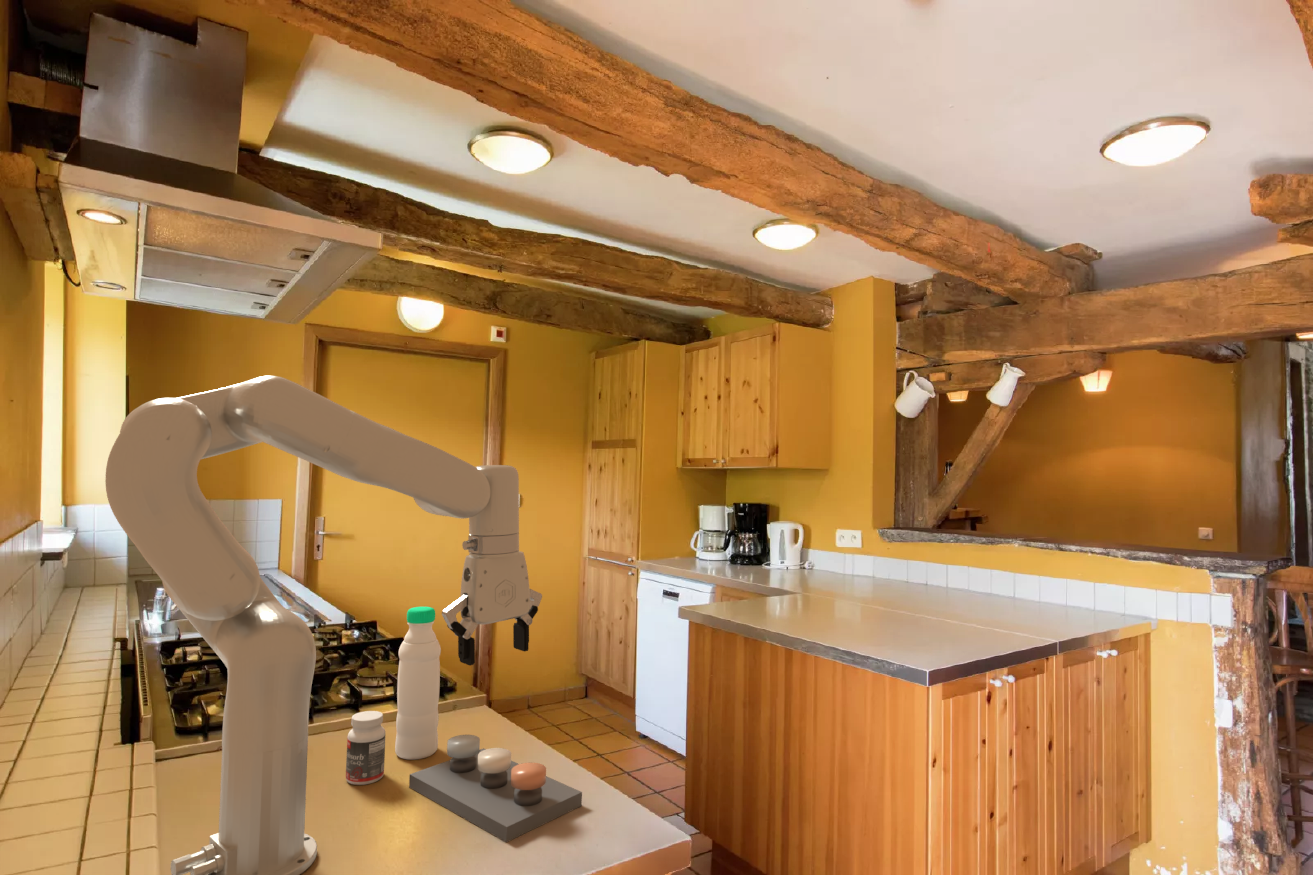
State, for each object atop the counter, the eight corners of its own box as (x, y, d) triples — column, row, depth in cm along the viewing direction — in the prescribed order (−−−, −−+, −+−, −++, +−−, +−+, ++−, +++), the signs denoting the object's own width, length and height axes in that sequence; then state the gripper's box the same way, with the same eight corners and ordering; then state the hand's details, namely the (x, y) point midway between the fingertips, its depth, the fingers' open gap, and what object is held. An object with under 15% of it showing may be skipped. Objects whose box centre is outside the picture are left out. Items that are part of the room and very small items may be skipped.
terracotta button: (526, 793, 101) (526, 780, 101) (503, 782, 104) (504, 770, 104) (552, 781, 105) (553, 769, 105) (530, 771, 108) (530, 759, 108)
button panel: (506, 842, 97) (506, 817, 97) (409, 787, 112) (409, 765, 112) (581, 805, 107) (582, 783, 107) (483, 760, 123) (484, 740, 123)
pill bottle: (337, 781, 114) (339, 717, 114) (367, 767, 119) (369, 707, 119) (362, 789, 111) (365, 724, 111) (391, 775, 116) (393, 713, 116)
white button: (491, 776, 106) (491, 764, 106) (470, 766, 109) (471, 754, 110) (517, 766, 110) (518, 754, 110) (497, 756, 113) (497, 745, 113)
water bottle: (424, 763, 121) (429, 613, 122) (386, 758, 122) (391, 610, 123) (444, 747, 128) (449, 605, 129) (408, 743, 129) (413, 603, 130)
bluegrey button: (459, 761, 111) (459, 749, 111) (440, 752, 115) (441, 740, 115) (485, 751, 115) (486, 740, 115) (467, 743, 118) (467, 732, 118)
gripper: (457, 554, 102) (457, 674, 102) (554, 541, 115) (554, 649, 114) (430, 549, 107) (431, 664, 107) (526, 537, 120) (526, 640, 120)
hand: (494, 656), depth 111 cm, fingers open, 9 cm apart
